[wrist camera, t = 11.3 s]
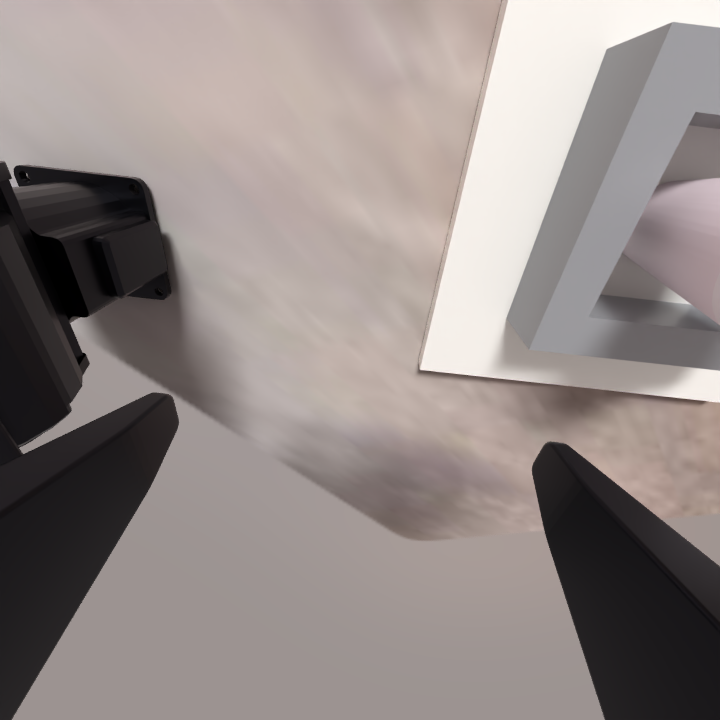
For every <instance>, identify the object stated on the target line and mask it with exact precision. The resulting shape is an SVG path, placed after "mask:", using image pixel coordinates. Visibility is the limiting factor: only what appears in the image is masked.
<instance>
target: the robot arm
mask: <svg viewBox="0 0 720 720" xmlns="http://www.w3.org/2000/svg"><path fill="white" fill-rule="evenodd" d="M26 173H27V174H28V175H29V177H30V180H29V179H28V177H27V176H26ZM14 176H15V178H16V181H17V183H18V185H19V187H13V188H12V186H11V184H10V181H9V179H12V177H11V175H10V172H9V170H8V167H7V165H6V163H5V162H4V161H0V720H12V718H13V717H14V715H15V713H16V712H17V710H18V708H19V706H20V705H21V703H22V702H23V700H24V698H25V697H26V695H27V693H28V691H29V690H30V688H31V686H32V685H33V683H34V681H35V680H36V678H37V676H38V675H39V673H40V671H41V670H42V668H43V666H44V665H45V663H46V661H47V659H48V658H49V656H50V655H51V653H52V651H53V650H54V648H55V646H56V645H57V643H58V641H59V639H60V638H61V636H62V634H63V633H64V631H65V629H66V628H67V626H68V624H69V623H70V621H71V619H72V618H73V616H74V614H75V613H76V611H77V609H78V608H79V606H80V604H81V603H82V601H83V599H84V598H85V596H86V594H87V592H88V591H89V589H90V588H91V586H92V584H93V583H94V581H95V579H96V578H97V576H98V574H99V573H100V571H101V569H102V567H103V566H104V564H105V562H106V561H107V559H108V557H109V556H110V554H111V552H112V551H113V549H114V547H115V546H116V544H117V542H118V540H119V539H120V537H121V536H122V534H123V532H124V530H125V529H126V527H127V526H128V524H129V522H130V521H131V519H132V517H133V516H134V514H135V512H136V511H137V509H138V507H139V505H140V504H141V502H142V500H143V499H144V497H145V495H146V493H147V492H148V490H149V488H150V487H151V484H152V482H153V481H154V478H155V476H156V474H157V472H158V470H159V468H160V466H161V463H162V461H163V459H164V457H165V455H166V452H167V450H168V448H169V446H170V444H171V442H172V440H173V438H174V435H175V433H176V431H177V428H178V424H179V419H178V415H177V411H176V407H175V403H174V400H173V397H172V396H171V395H169V394H163V393H151V394H148V395H146V396H144V397H142V398H140V399H138V400H135V401H133V402H131V403H129V404H127V405H125V406H123V407H121V408H119V409H117V410H115V411H113V412H111V413H108V414H107V415H105V416H102V417H100V418H98V419H96V420H94V421H92V422H90V423H88V424H86V425H84V426H81V427H79V428H77V429H76V430H73V431H71V432H69V433H67V434H65V435H63V436H61V437H59V438H56V439H54V440H52V441H50V442H48V443H46V444H44V445H42V446H40V447H38V448H36V449H34V450H32V451H29V452H28V453H25V454H23V453H22V452H21V450H20V449H19V447H21V446H23V445H26V444H27V443H29V442H31V441H32V440H34V439H35V438H37V437H38V436H40V435H42V434H43V433H45V432H46V431H48V430H50V429H51V428H53V427H54V426H55V425H56V424H57V423H59V422H60V421H61V420H63V419H64V418H65V417H66V416H67V415H68V414H69V413H70V412H71V406H70V403H71V402H72V401H73V399H74V397H75V396H76V395H77V393H78V391H79V390H80V388H81V387H82V376H83V374H84V372H85V370H86V369H87V367H88V366H89V364H90V363H89V361H88V358H87V356H86V354H85V353H82V351H81V349H80V346H79V344H78V341H77V339H76V337H75V334H74V332H73V330H72V327H71V325H70V323H71V322H73V321H74V320H76V319H78V318H80V317H88V316H90V315H92V314H93V313H95V312H97V311H98V310H100V309H102V308H103V307H105V306H107V305H108V304H110V303H112V302H113V301H115V300H117V299H118V298H124V297H125V296H132V297H141V298H150V299H159V300H164V299H166V298H167V297H168V296H170V294H171V288H170V284H169V279H168V275H167V269H168V267H167V263H166V258H165V254H164V249H163V244H162V240H161V235H160V231H159V226H158V225H157V223H156V221H155V217H154V212H153V208H152V203H151V199H150V194H149V190H148V187H147V185H146V184H145V182H144V181H143V180H141V179H139V178H136V177H128V176H119V175H111V174H102V173H93V172H85V171H76V170H67V169H58V168H50V167H41V166H32V165H19V166H16V167H15V168H14ZM134 184H135V185H136V186H137V187H138V189H139V193H137V192H136V191H135V190H134ZM158 288H160V289H161V290H162V291H163V293H161V292H160V291H159V289H158ZM532 475H533V479H534V484H535V489H536V494H537V498H538V503H539V508H540V512H541V517H542V522H543V526H544V530H545V534H546V538H547V541H548V544H549V548H550V551H551V554H552V557H553V560H554V563H555V566H556V570H557V573H558V576H559V579H560V582H561V585H562V588H563V591H564V594H565V598H566V601H567V604H568V607H569V610H570V613H571V616H572V619H573V622H574V625H575V629H576V632H577V634H578V638H579V641H580V644H581V647H582V650H583V653H584V656H585V659H586V662H587V666H588V669H589V672H590V675H591V678H592V681H593V684H594V687H595V691H596V694H597V696H598V700H599V703H600V706H601V709H602V712H603V715H604V718H605V720H720V566H719V565H717V564H716V563H715V562H714V561H712V560H711V559H710V558H709V557H707V556H706V555H705V554H704V553H702V552H701V551H700V550H699V549H697V548H696V547H694V546H693V545H692V544H691V543H690V542H689V541H687V540H686V539H685V538H683V537H682V536H681V535H680V534H678V533H677V532H676V531H675V530H674V529H672V528H671V527H670V526H669V525H667V524H666V523H665V522H663V521H662V520H661V519H660V518H659V517H657V516H656V515H655V514H654V513H652V512H651V511H650V510H649V509H647V508H646V507H645V506H644V505H642V504H641V503H640V502H638V501H637V500H636V499H635V498H633V497H632V496H631V495H630V494H628V493H627V492H626V491H625V490H623V489H622V488H621V487H620V486H618V485H617V484H616V483H615V482H613V481H612V480H611V479H610V478H608V477H607V476H606V475H605V474H603V473H602V472H601V471H600V470H598V469H597V468H596V467H595V466H593V465H592V464H591V463H590V462H588V461H587V460H586V459H585V458H583V457H582V456H581V455H580V454H578V453H577V452H576V451H575V450H573V449H572V448H571V447H570V446H568V445H567V444H564V443H558V442H547V443H546V444H544V446H543V448H542V449H541V451H540V453H539V454H538V456H537V458H536V460H535V461H534V463H533V466H532Z"/></svg>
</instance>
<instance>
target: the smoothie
mask: <svg viewBox="0 0 720 720" xmlns="http://www.w3.org/2000/svg"><path fill="white" fill-rule="evenodd" d="M622 253H623V254H624V255H625V256H626V257H628V258H629V259H630V260H632V261H633V262H634V263H636V264H637V265H639V266H640V267H641V268H643V269H644V270H645V271H647V272H648V273H649V274H651V275H652V276H653V277H655V278H656V279H658V280H659V281H660V282H662V283H663V284H664V285H666V286H667V287H668V288H670V289H671V290H672V291H674V292H675V293H677V294H678V295H679V296H681V297H682V298H683V299H685V300H686V301H687V302H689V303H690V304H691V305H693V306H694V307H696V308H697V309H698V310H700V311H701V312H702V313H704V314H705V315H706V316H708V317H709V318H710V319H712V320H713V321H714V322H716V323H717V324H719V325H720V178H710V179H695V180H679V181H671V182H667V183H663V184H661V185H658V186H657V187H656V189H655V190H654V192H653V194H652V196H651V198H650V200H649V202H648V204H647V206H646V208H645V210H644V212H643V213H642V215H641V217H640V219H639V221H638V223H637V225H636V227H635V229H634V231H633V233H632V235H631V237H630V238H629V240H628V242H627V244H626V246H625V248H624V250H623V252H622Z"/></svg>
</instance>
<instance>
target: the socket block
mask: <svg viewBox="0 0 720 720" xmlns="http://www.w3.org/2000/svg"><path fill="white" fill-rule="evenodd" d="M710 178H720V0H502V3H501V7H500V12H499V16H498V20H497V25H496V29H495V33H494V37H493V42H492V46H491V50H490V55H489V59H488V63H487V68H486V72H485V76H484V81H483V85H482V89H481V94H480V98H479V102H478V106H477V111H476V115H475V119H474V124H473V128H472V132H471V137H470V141H469V145H468V150H467V154H466V158H465V163H464V167H463V171H462V175H461V180H460V184H459V188H458V193H457V197H456V201H455V206H454V210H453V214H452V219H451V223H450V227H449V231H448V236H447V240H446V244H445V249H444V253H443V257H442V262H441V266H440V270H439V275H438V279H437V283H436V288H435V292H434V296H433V300H432V305H431V309H430V313H429V318H428V322H427V326H426V331H425V335H424V339H423V344H422V348H421V352H420V356H419V361H418V362H419V368H420V370H426V371H435V372H445V373H454V374H463V375H472V376H481V377H491V378H500V379H509V380H518V381H527V382H536V383H546V384H555V385H564V386H573V387H582V388H591V389H601V390H610V391H619V392H628V393H637V394H647V395H656V396H665V397H674V398H683V399H692V400H702V401H711V402H720V325H719V324H717V323H716V322H714V321H713V320H712V319H710V318H709V317H708V316H706V315H705V314H704V313H702V312H701V311H700V310H698V309H697V308H696V307H694V306H693V305H691V304H690V303H689V302H687V301H686V300H685V299H683V298H682V297H681V296H679V295H678V294H677V293H675V292H674V291H672V290H671V289H670V288H668V287H667V286H666V285H664V284H663V283H662V282H660V281H659V280H658V279H656V278H655V277H653V276H652V275H651V274H649V273H648V272H647V271H645V270H644V269H643V268H641V267H640V266H639V265H637V264H636V263H634V262H633V261H632V260H630V259H629V258H628V257H626V256H625V255H624V254H623V253H622V252H623V250H624V248H625V246H626V244H627V242H628V240H629V238H630V237H631V235H632V233H633V231H634V229H635V227H636V225H637V223H638V221H639V219H640V217H641V215H642V213H643V212H644V210H645V208H646V206H647V204H648V202H649V200H650V198H651V196H652V194H653V192H654V190H655V189H656V187H657V186H658V185H661V184H663V183H667V182H671V181H679V180H695V179H710Z"/></svg>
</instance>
